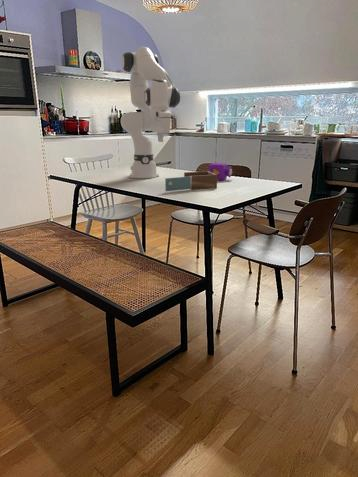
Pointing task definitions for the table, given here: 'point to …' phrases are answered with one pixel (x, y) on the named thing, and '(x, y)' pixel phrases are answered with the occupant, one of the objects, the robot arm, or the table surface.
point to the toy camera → (220, 170)
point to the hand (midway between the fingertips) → (160, 141)
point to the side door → (178, 183)
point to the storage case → (202, 179)
